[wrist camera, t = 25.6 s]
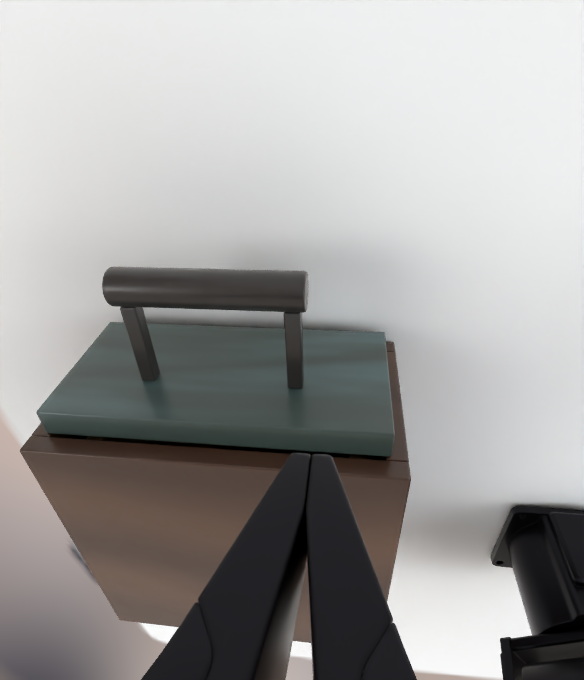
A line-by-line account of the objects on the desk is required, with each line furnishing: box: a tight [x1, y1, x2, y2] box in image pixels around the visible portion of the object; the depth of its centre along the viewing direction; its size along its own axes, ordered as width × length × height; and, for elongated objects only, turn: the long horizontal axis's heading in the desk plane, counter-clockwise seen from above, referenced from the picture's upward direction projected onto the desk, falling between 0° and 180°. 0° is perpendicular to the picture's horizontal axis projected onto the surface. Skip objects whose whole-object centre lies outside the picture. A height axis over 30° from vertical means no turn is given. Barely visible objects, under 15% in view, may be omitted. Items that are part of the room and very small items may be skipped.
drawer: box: [37, 267, 395, 459], centre depth 21 cm, size 18×13×6 cm
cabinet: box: [20, 342, 411, 643], centre depth 23 cm, size 15×15×8 cm
